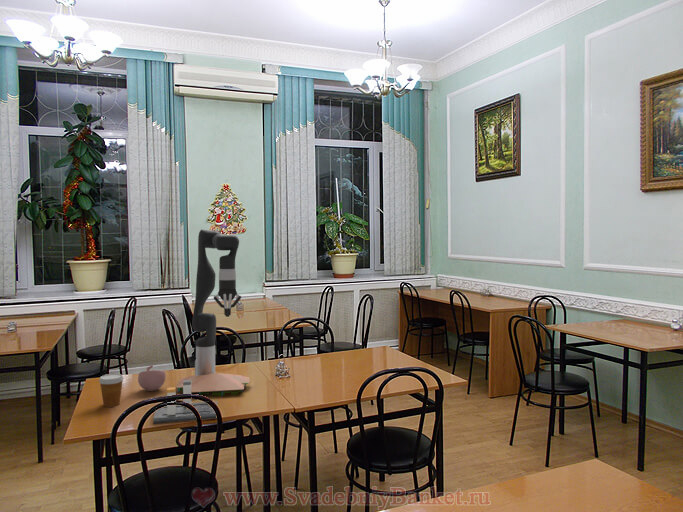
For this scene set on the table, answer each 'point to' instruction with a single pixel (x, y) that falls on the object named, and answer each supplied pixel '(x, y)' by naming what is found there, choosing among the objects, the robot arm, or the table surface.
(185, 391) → the white fader
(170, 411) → the orange fader
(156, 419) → the console
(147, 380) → the pink apple
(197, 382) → the pink cutting board
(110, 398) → the disposable coffee cup
